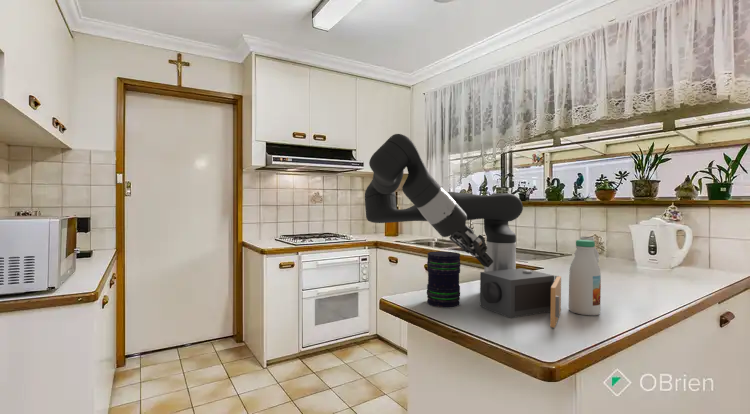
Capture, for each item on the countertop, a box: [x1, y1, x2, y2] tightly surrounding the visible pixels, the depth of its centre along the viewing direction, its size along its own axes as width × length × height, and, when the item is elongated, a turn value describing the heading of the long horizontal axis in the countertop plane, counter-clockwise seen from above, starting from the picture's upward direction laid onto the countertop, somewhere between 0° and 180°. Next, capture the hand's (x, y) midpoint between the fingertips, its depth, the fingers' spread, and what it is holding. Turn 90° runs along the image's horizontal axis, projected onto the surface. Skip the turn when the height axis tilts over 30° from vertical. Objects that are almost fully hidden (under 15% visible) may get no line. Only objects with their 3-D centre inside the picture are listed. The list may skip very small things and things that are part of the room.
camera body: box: [479, 267, 556, 319], centre depth 108 cm, size 18×12×11 cm
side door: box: [549, 275, 562, 329], centre depth 98 cm, size 17×2×10 cm, turn 149°
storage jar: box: [426, 250, 461, 309], centre depth 113 cm, size 10×10×15 cm
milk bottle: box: [568, 239, 602, 316], centre depth 105 cm, size 8×8×20 cm
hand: (489, 264), depth 88 cm, fingers closed
